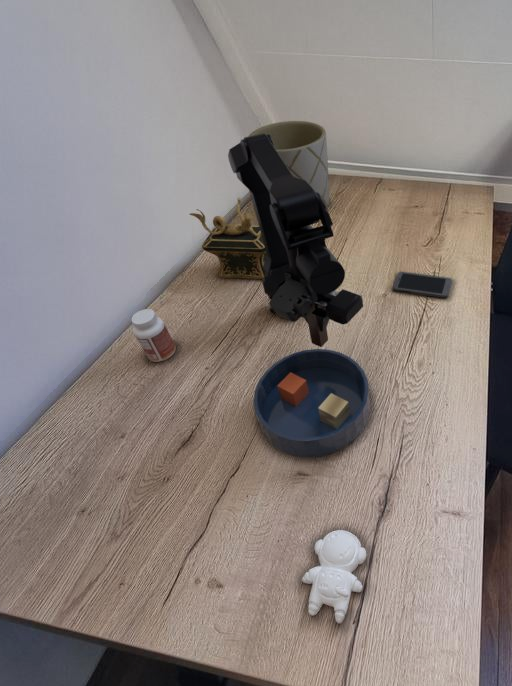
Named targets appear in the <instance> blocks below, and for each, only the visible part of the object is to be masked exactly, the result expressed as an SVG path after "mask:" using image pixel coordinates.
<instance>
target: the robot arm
mask: <svg viewBox="0 0 512 686" xmlns="http://www.w3.org/2000/svg"><path fill="white" fill-rule="evenodd" d="M248 136H249V135H248ZM248 136H244V137H243V138H242V139H241V140H240V142H239V143H237V144H236V145H234V146H232V147H231V148H229V150H228V154H227V158H228V162H229V165H230V168H231V171H232V172H233V174H236V178H237V179H238V180H239V181H240V183H242V184H243V186H245V188H247V189H248V191H249V194H250V198H251V202H252V206H253V209H254V212H255V217H256V220H257V224H258V226H259V227H260V231H261V235H262V238H263V242H264V246H265V249H266V253H267V257H266V260H265V262H264V265H263V269H264V273H265V277H263V279H261V283H262V287H263V290H264V294H266V295H267V297H268V298H269V306H270V309H269V311H270V312H271V313H272V314H275V315H276V316H278V317H279V318H283V319H285V320H287V321H289V322H292V323H295V322H297V321H299V320H300V318H303V319H304V321H305V322H306V323H307V324H308V320H307V317H308V315H309V314H310V312H311V311H312V309H313V307H314V303H317V304H319V305H318V307H317V308H316V309H315V310H314V311H313V312H312V313H311V314H313V315H316V316H317V319H318V323H319V327H320V330H321V332H323V331H324V330H325V329H326V328H327V327H328V325H329V322H330V321H333V322H335V323H338V324H340V325H348V324H349V322H351V320H352V319H353V318H354V317H355V316H356V315H357V314H358V313H359V312H360V311H361V310H362V309H363V308H364V300H363V299H364V298H363V295H360V294H358V293H356V292H355V293H354V292H352V291H349V290H347V289H341V290H340V291H337V290H338V289H339V288H340V287H341V286H342V284H343V282H344V281H345V277H346V271H345V269H344V266H343V265H342V263H341V262H339V260H338V259H337V258H336V256H334V254H333V253H332V252H331V250H329V248H328V246H327V245H326V239H329V238H332V237H334V231H333V229H332V226H333V225H334V223H333V220H332V218H331V215H330V213H329V210H328V207H327V208H326V205H325V203H324V200H323V199H322V198H321V197H320V194H319V193H318V192H315V190H314V189H313V188H312V187H311V186H310V184H309V183H308V182H307V181H305V180H303V179H299V178H296V177H294V176H293V175H292V173H291V172H290V170H289V169H288V167H287V166H286V164H285V163H284V161H283V160H282V158H281V157H280V155H279V154H278V152H277V151H276V149H275V146H274V143H273V140H272V139H271V136H270V135H269V134H265V133H262V134H258V135H253V136H249V137H248ZM319 222H320V223H321V225H320V226H317V227H313V226H312V225H315V224H318V223H319Z"/></svg>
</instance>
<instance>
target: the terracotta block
mask: <svg viewBox="0 0 512 686" xmlns="http://www.w3.org/2000/svg"><path fill="white" fill-rule="evenodd" d="M278 390H279V393H280V397H281V399H283V400H285V401H287V402H288V403H290V404H292V405H294V406H297V405H298V404H299V403H300V402H301V401H302V400H303V399H304V398H305V397H306V396H307V394H308V393H309V391H308V387H307V382H306V380H305V379H303V378H301V377H299V376H297V375H295V374H293V373H291V372H290V373H289V374H288V375H287V376H286V377H285V378H284V379H283V380H282V381H281V382H280V383H279V384H278Z"/></svg>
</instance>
